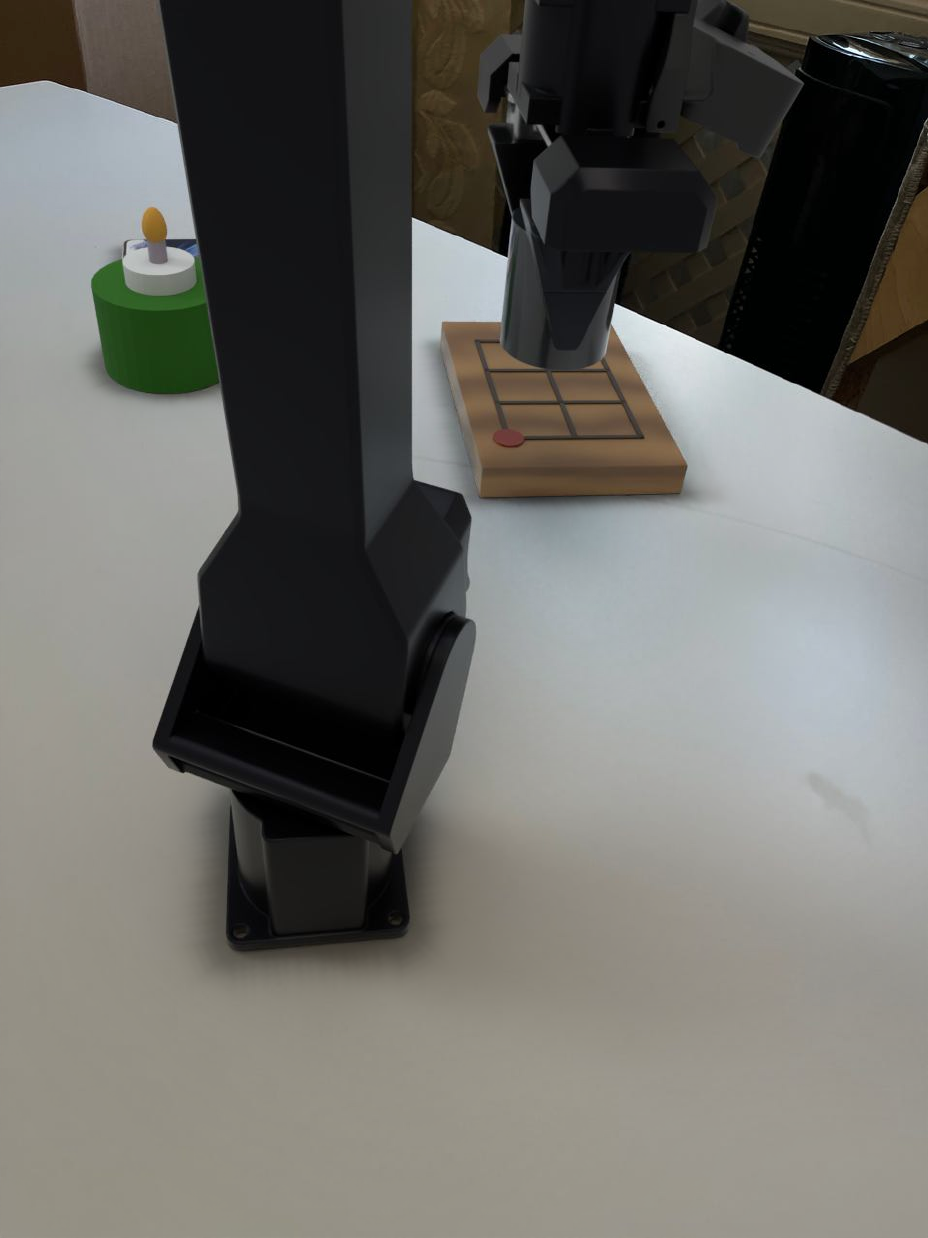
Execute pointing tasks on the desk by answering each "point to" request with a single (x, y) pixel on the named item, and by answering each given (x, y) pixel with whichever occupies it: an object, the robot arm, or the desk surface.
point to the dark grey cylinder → (543, 313)
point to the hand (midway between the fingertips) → (554, 321)
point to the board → (556, 422)
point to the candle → (155, 317)
